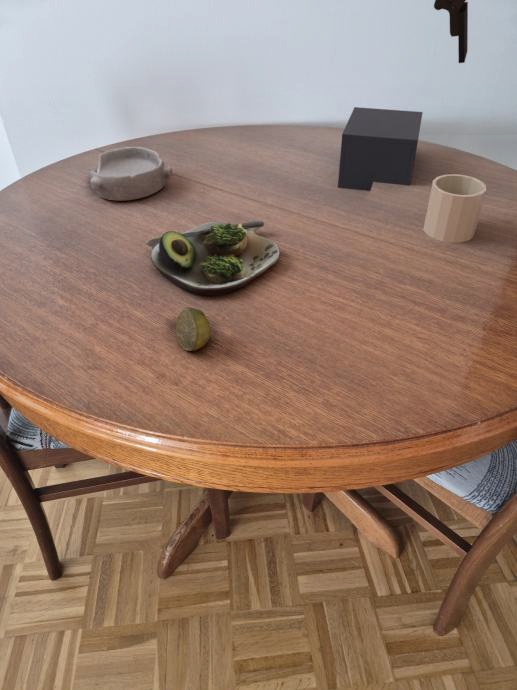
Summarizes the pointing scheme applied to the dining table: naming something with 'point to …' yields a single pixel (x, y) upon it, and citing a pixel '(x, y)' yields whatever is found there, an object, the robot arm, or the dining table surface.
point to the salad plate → (213, 256)
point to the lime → (192, 329)
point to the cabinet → (378, 147)
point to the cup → (454, 208)
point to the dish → (129, 173)
